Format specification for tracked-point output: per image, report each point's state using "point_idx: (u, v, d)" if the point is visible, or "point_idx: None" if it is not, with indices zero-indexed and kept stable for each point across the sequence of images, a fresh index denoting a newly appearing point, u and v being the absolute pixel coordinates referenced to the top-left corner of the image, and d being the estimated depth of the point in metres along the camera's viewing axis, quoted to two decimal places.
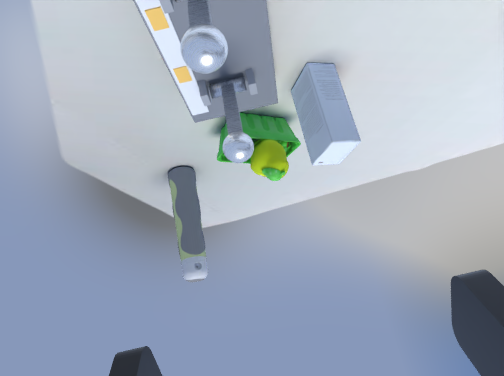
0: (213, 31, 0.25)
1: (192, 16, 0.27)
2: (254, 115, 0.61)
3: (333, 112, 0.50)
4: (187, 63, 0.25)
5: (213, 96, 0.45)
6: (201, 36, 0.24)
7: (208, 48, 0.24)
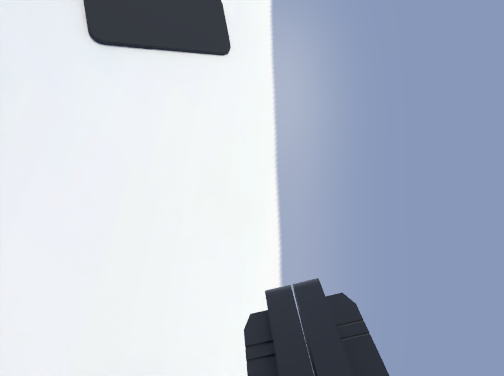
0: None
1: None
2: None
3: None
4: None
5: None
6: None
7: None
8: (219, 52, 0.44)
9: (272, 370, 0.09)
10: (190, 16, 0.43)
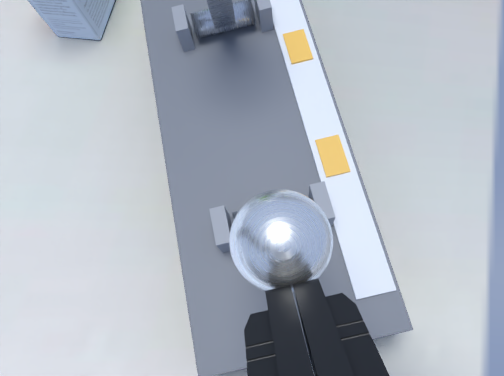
0: (260, 288, 0.12)
1: None
2: None
3: None
4: (323, 227, 0.11)
5: (248, 4, 0.26)
6: None
7: (274, 276, 0.11)
8: None
9: (272, 370, 0.09)
10: None
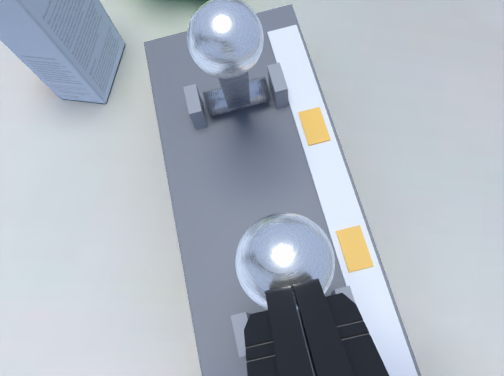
0: (263, 303, 0.12)
1: None
2: None
3: (31, 38, 0.25)
4: (321, 235, 0.12)
5: (263, 84, 0.25)
6: None
7: (273, 274, 0.11)
8: None
9: (272, 370, 0.09)
10: None
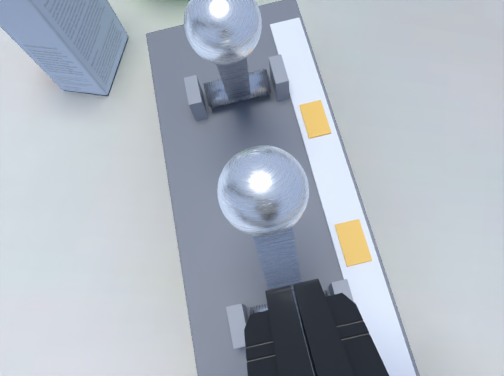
0: (239, 219, 0.12)
1: (290, 256, 0.15)
2: None
3: (33, 27, 0.25)
4: (294, 160, 0.13)
5: (264, 76, 0.25)
6: (262, 207, 0.12)
7: (247, 184, 0.12)
8: None
9: (272, 370, 0.09)
10: None
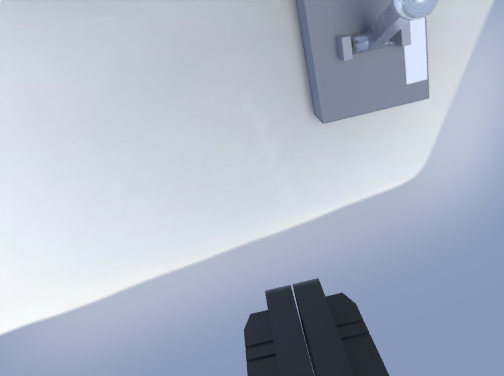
0: (408, 14, 0.27)
1: (406, 21, 0.31)
2: None
3: None
4: None
5: None
6: (422, 11, 0.27)
7: (419, 0, 0.26)
8: None
9: (272, 370, 0.09)
10: None
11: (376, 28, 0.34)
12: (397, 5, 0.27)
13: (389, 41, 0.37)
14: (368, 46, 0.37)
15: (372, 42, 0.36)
